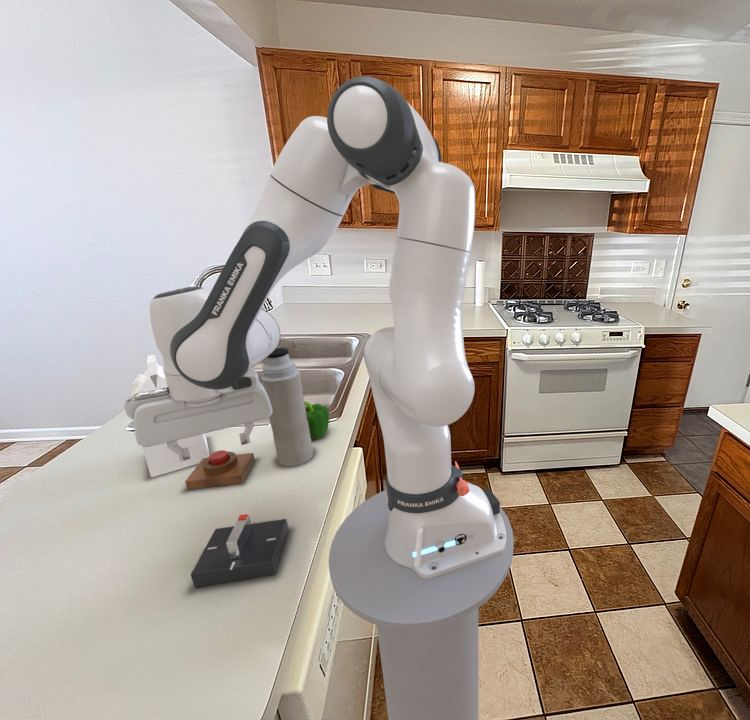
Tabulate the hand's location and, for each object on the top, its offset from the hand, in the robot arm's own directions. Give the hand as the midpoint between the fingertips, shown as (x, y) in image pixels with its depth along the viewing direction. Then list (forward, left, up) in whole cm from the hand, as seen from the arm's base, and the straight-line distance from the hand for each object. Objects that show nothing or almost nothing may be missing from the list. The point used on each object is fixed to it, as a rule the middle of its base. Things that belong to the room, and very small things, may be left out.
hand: (216, 450), depth 73 cm
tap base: (-5, +11, -16) cm, 20 cm away
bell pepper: (-10, -30, -16) cm, 35 cm away
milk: (+21, -26, -16) cm, 37 cm away
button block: (+8, -16, -16) cm, 24 cm away
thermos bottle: (-7, -20, -16) cm, 27 cm away
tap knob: (-5, +11, -13) cm, 18 cm away
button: (+8, -16, -12) cm, 21 cm away
